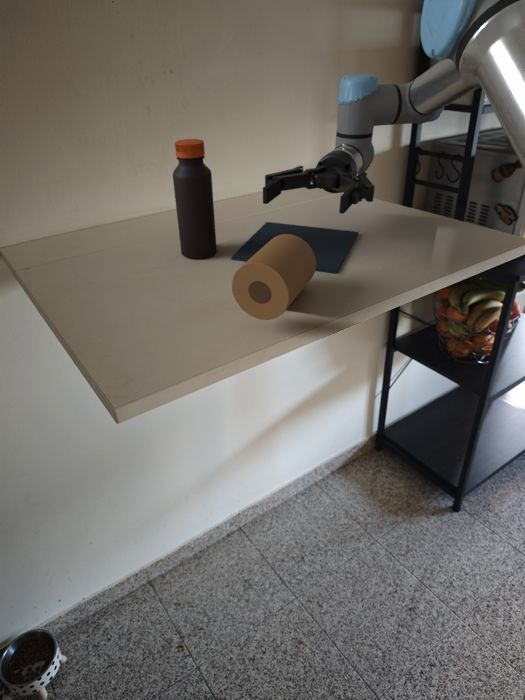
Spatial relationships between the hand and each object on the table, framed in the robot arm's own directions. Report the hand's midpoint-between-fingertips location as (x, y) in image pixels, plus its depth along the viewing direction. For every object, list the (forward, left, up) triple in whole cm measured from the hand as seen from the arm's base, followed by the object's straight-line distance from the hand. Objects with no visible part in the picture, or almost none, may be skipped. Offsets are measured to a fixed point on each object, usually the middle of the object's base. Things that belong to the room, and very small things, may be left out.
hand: (302, 200), depth 83 cm
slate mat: (+3, -9, -12) cm, 15 cm away
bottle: (+20, 0, -12) cm, 24 cm away
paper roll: (0, +14, -7) cm, 16 cm away
